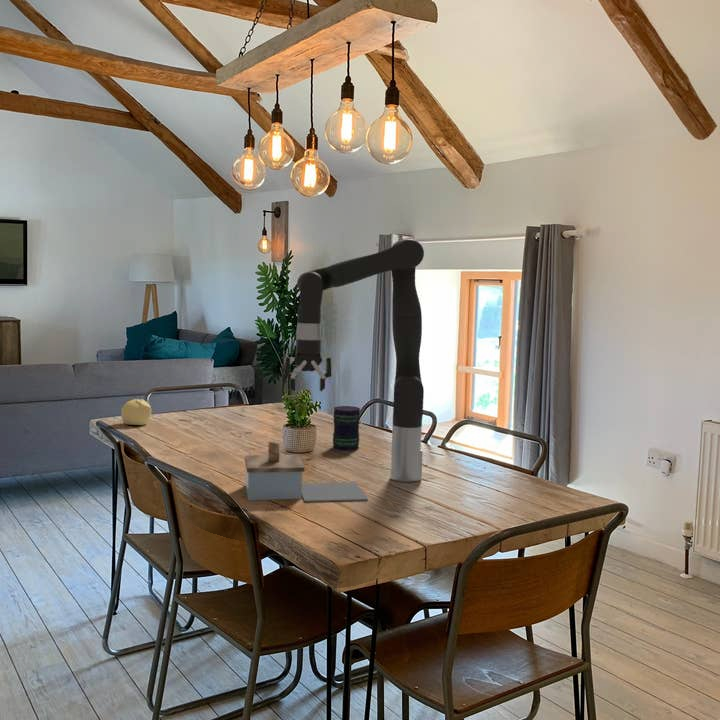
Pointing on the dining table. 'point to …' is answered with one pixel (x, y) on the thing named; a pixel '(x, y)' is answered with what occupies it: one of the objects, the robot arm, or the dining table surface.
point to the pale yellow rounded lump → (136, 412)
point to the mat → (332, 492)
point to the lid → (273, 461)
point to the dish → (273, 485)
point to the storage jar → (346, 428)
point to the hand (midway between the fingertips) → (307, 390)
